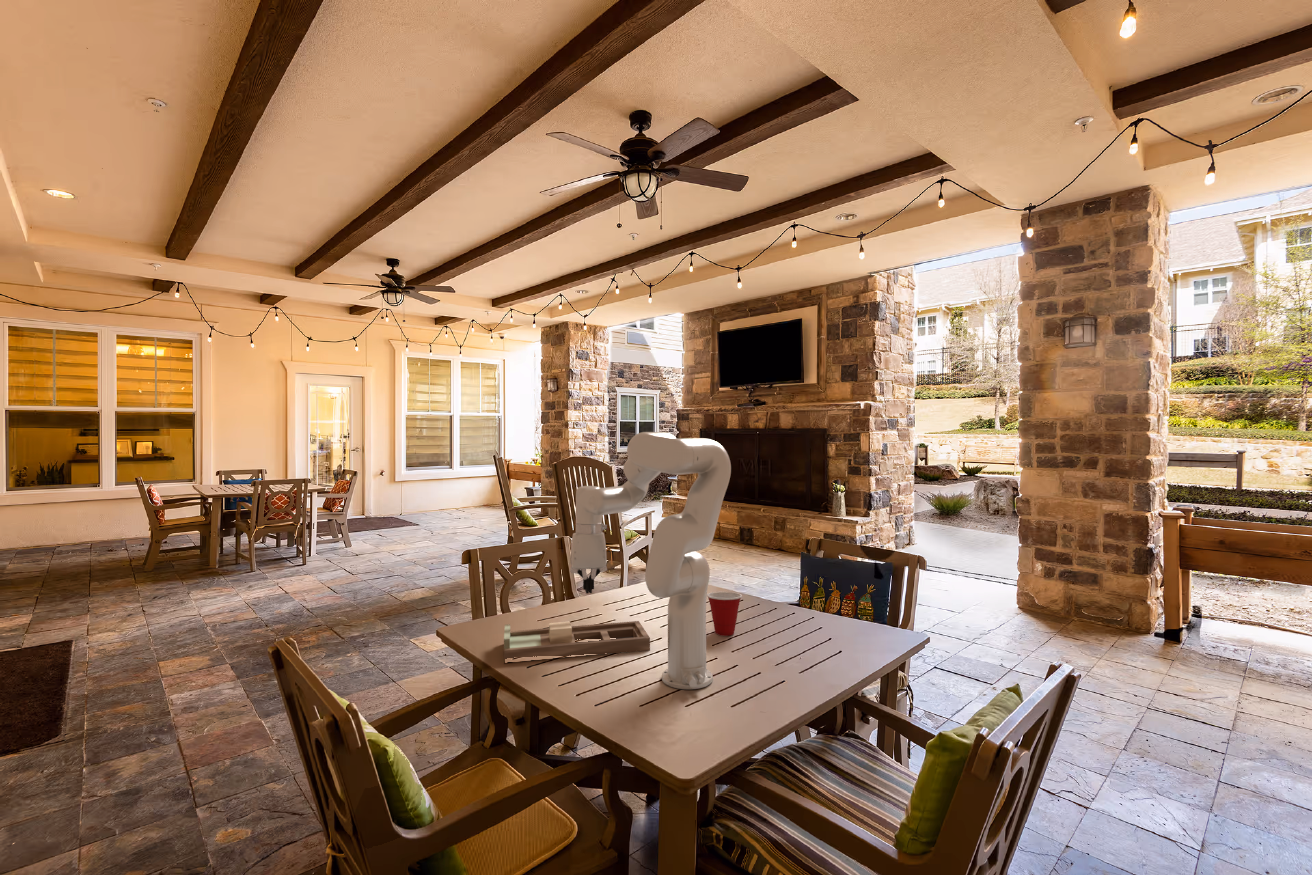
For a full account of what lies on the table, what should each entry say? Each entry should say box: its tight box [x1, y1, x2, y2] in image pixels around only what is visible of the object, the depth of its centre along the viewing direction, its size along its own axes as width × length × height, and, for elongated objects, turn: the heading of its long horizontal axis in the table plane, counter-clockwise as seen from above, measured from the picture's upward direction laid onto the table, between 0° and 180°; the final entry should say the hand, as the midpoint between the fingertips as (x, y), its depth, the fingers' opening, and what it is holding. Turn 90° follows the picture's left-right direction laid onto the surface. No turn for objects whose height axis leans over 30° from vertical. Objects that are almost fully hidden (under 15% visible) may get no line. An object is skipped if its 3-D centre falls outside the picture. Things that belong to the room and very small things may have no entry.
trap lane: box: [503, 620, 651, 660], centre depth 170 cm, size 16×40×6 cm, turn 103°
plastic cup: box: [706, 591, 743, 637], centre depth 182 cm, size 11×11×12 cm
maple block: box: [548, 621, 572, 644], centre depth 169 cm, size 6×6×4 cm
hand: (588, 591), depth 172 cm, fingers closed
